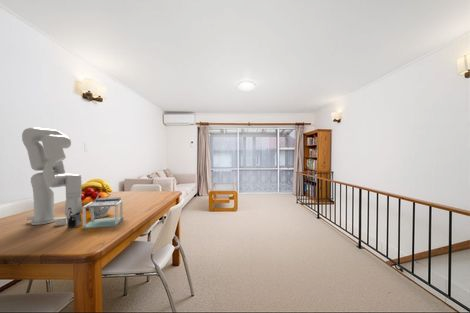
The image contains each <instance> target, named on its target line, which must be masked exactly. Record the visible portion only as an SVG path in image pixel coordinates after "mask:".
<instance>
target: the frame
mask: <svg viewBox="0 0 470 313" xmlns="http://www.w3.org/2000/svg"><path fill="white" fill-rule="evenodd" d="M123 202H124V201H123V199H122V200H120V201H119V202H118V203H117V204H115V206H114V217H103V218H94V210H95V209H94V208H91V212H90V221H89V222H87V209H88V208H87V206H89V205H90V204H92V203H94V201H91V202H88V203H87V204H85V205H83V206H82V209H81V211H82V227H81V230H84V229H85V230H86V229H97V228H98V229H99V228H109V227H118V225H119V224H120V223H121V222H122V220H123V219H124V206H123V204H124V203H123ZM118 206H119V207H120V208H119V207H118ZM86 208H87V209H86ZM118 208H119V210H120V215H118V214H119V213H118V212H119V210H118ZM119 216H120V217H119Z"/></svg>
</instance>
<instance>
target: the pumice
mask: <svg viewBox="0 0 470 313" xmlns="http://www.w3.org/2000/svg"><path fill="white" fill-rule="evenodd" d="M54 223H55V224H54V225H55V226H56V227H57V226H58V225H59V226H65V225H67V217H66V216H60V217H57V218H56V219H55V221H54Z"/></svg>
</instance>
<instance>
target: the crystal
mask: <svg viewBox="0 0 470 313" xmlns="http://www.w3.org/2000/svg"><path fill="white" fill-rule="evenodd" d="M97 199H99V195H97V196H96V198H95V199H94V201H93V202H96V200H97ZM111 207H112V206H110V207H94V219H101V218H106V217H107V216H109V213H108V212H109V210H110V209H111ZM88 211H89V213H91V208H88Z"/></svg>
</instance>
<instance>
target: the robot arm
mask: <svg viewBox="0 0 470 313" xmlns="http://www.w3.org/2000/svg"><path fill="white" fill-rule="evenodd" d="M21 139H22V140H21V141H22V143H23V144H24V147H25V149H26V151H27V156H28V160H29V164H30V168H31V169H32V170H33V171H35V172H36V171H40V172H36V173H35V174H33V175H32V176H31V177H30V184H31V188H32V194H33V195H32V197H33V215H29V216H27V217H26V220H27V221H30V225H31V226H40V225H45V224H49V223H53V222H54V223H55V219H56V218H58V216H57V217H56V216H55V193H54V191H53V190H52V189H53V188H60V187H65V203H64V215H65V217H67V218H68V227H67V228H74V227H73V226H75V219H74V217H75V215H78V214H81V211H82V207H83V206H82V204H83V203H82V195H83V194H82V191H83V190H82V175H81V174H78V173H77V174H75V173H66V170H65V166H64V162H63V161H64V160H65V159H66V153H65V152H64V149H69V148H70V147H71V145H72V141H71V139H70V138H69V136H68V135H66V134H65V133H63V132H61V131H59V130H57V129H53V128H44V127H43V128H42V127H28V128H25V129H23V130H22V132H21ZM40 142H42V143H40ZM51 188H52V189H51ZM72 216H73V217H72Z"/></svg>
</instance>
